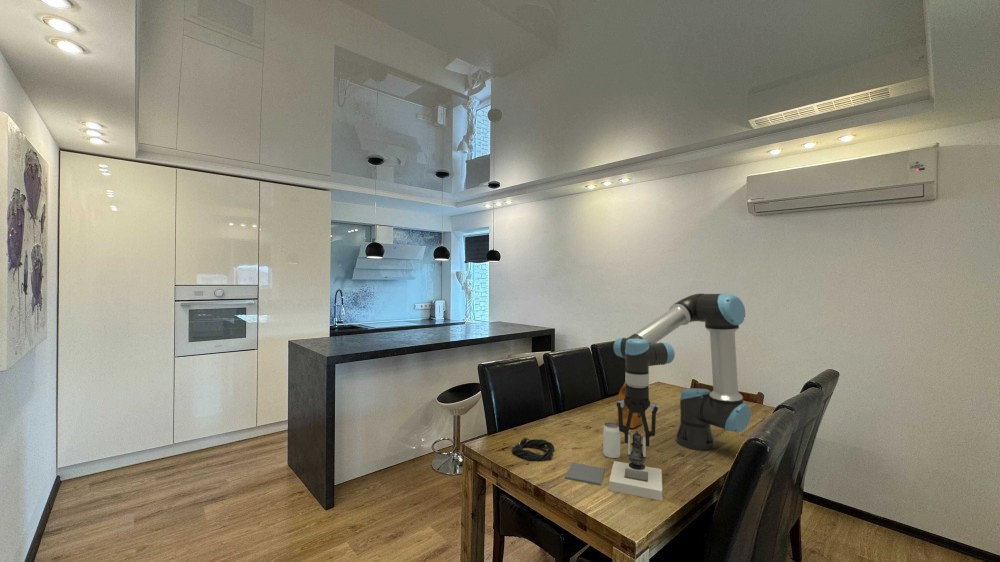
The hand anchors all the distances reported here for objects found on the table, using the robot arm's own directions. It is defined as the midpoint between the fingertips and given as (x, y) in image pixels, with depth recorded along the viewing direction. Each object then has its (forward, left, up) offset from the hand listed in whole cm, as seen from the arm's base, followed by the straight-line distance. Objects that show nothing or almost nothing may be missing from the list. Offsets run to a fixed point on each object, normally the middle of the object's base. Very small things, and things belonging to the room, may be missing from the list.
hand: (636, 453), depth 131 cm
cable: (+39, -9, -11) cm, 41 cm away
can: (+10, -20, -10) cm, 24 cm away
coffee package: (+5, -59, -10) cm, 60 cm away
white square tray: (0, 0, -10) cm, 10 cm away
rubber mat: (+17, 0, -10) cm, 20 cm away
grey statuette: (0, 0, -4) cm, 4 cm away
